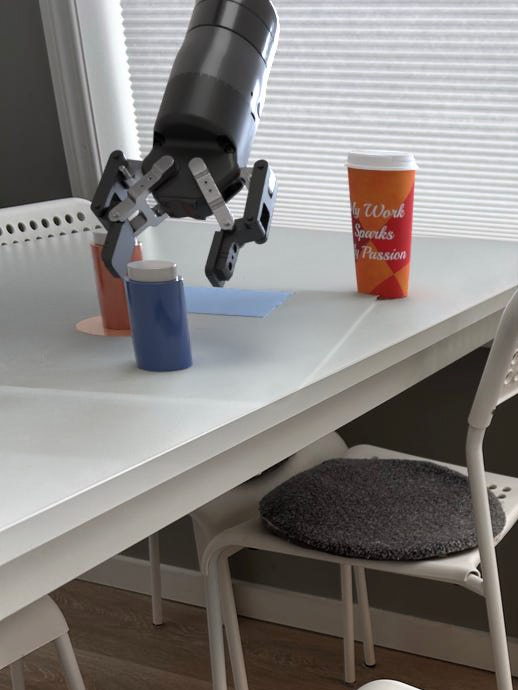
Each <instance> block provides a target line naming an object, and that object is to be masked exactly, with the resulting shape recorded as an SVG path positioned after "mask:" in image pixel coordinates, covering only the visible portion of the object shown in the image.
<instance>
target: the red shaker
mask: <svg viewBox="0 0 518 690" xmlns="http://www.w3.org/2000/svg"><path fill="white" fill-rule="evenodd" d="M91 232H92V239H93V241H90V242H89V243H88V246H89V251H90V258H91V264H92V271H93V276H94V281H95V283H94V284H95V288H96V294H97V301H98V307H99V312H100V316H101V320H102V325H103V326H104V327H106V328H110V329H118V330H131V328H130V321H129V314H128V307H127V301H126V294H125V287H124V280H123V279H121V278H114V277H113V276H112V274H111V273H110V272H109V271H108V269H107V268H106V267H105V265H104V262H103V261H102V260H101V252H102V248H103V245H104V242H105V239H106V236H107V232H108V231H107V230H106V229H105V228H104V227H100V228H95V229H93V230H91ZM134 240H135V241H136V244H135V247H134V250H133V254H132V257H131V260H130V263H131V262H135V261H144V260H145V256H144V249H143V242H141V241H140V240H138V239H137V237H136V238H135V239H134ZM126 276H128V270H127V273H126Z"/></svg>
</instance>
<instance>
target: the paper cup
mask: <svg viewBox="0 0 518 690" xmlns="http://www.w3.org/2000/svg"><path fill="white" fill-rule="evenodd" d="M416 160H417V159H416V158H415V156H414V153H412V152H408V151H401V150H386V149H355V150H349V151H348V152H347V159H346V162H345V163H344V164H343V166H344V167H346V168H347V179H348V180H347V181H348V190H349V191H348V193H349V194H348V195H349V205H350V219H351V231H352V244H353V245H352V246H353V255H354V266H355V268H354V269H355V279H356V288H357V293H359V294H365V295H370V296H376V299H379V300H392V299H400V298H404V297H407V296H408V293H409V288H410V287H409V285H410V272H411V271H410V270H411V256H412V255H411V254H412V237H413V222H414V221H413V220H414V202H415V201H414V200H415V184H416V183H415V182H416V171H418V170H420V167H419V166H418V164H416Z"/></svg>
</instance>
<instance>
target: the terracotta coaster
mask: <svg viewBox="0 0 518 690" xmlns="http://www.w3.org/2000/svg"><path fill="white" fill-rule="evenodd" d="M75 329H76V330H77V331H79V332H81V333H83V334H86V335H87V334H88V335H90V336H91V335H92V336H97V337H98V336H100V337H111V338H112V337H116V338H125V337H127V338H128V337H132V334H131V330H118V329H110V328H106V327H104V326H103V325H102V320H101V315H97V316H92V317H89V318H86V319H83V320H80V321H79V322H77V323H76V324H75Z"/></svg>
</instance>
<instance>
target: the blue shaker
mask: <svg viewBox="0 0 518 690" xmlns="http://www.w3.org/2000/svg"><path fill="white" fill-rule="evenodd" d="M127 270H128V276H126V277H124V279H123V280H124V287H125V294H126V301H127V307H128V314H129V321H130V328H131V334H132V336H131V341H132V347H133V354H134V355H133V356H134V362H135V367H136V368H137V369H139V370H141V371H146V372H152V373H171V372H178V371H184V370H187V369H189V368H191V367H192V366H194V360H193V352H192V344H191V335H190V327H189V318H188V313H187V308H186V299H185V291H184V286H185V284H184V283H185V282H184V277H183V276H182V275H179V274H178V269H177V264H176V263H175V262H173V261H169V260H158V259H150V260H149V259H148V260H147V259H146V260H145V259H144V261H135V262H131V263H128V264H127Z"/></svg>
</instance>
